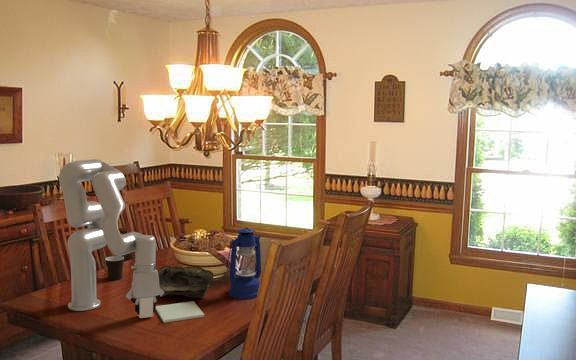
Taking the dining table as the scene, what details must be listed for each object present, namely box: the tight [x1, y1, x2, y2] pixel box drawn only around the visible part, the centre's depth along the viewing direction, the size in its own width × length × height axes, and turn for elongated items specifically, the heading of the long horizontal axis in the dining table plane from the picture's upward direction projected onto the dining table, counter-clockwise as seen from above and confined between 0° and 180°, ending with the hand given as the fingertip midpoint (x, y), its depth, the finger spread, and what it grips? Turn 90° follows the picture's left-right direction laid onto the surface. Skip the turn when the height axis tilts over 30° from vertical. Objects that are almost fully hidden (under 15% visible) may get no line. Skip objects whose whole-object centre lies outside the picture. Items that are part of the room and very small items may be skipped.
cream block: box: [138, 297, 154, 319], centre depth 207 cm, size 5×5×8 cm
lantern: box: [226, 227, 262, 300], centre depth 236 cm, size 17×15×30 cm
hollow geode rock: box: [157, 265, 214, 300], centre depth 233 cm, size 28×13×15 cm
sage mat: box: [155, 300, 205, 324], centre depth 213 cm, size 16×16×1 cm
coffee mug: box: [105, 255, 125, 282], centre depth 255 cm, size 12×9×10 cm
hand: (145, 311), depth 207 cm, fingers closed on cream block, 5 cm apart
